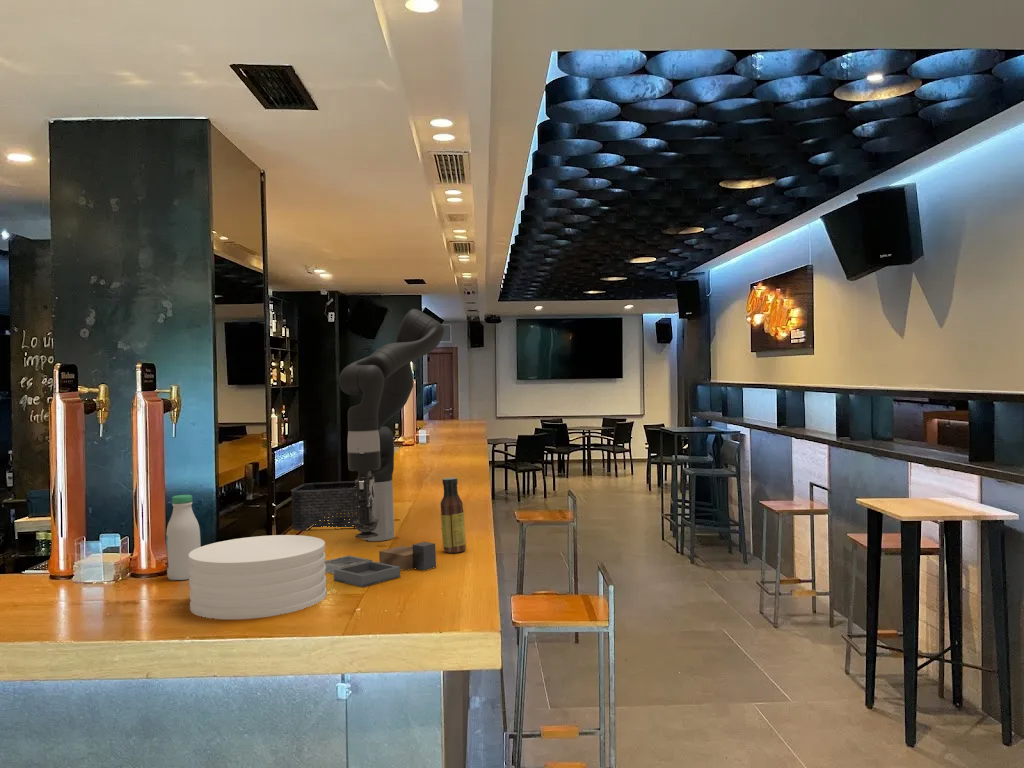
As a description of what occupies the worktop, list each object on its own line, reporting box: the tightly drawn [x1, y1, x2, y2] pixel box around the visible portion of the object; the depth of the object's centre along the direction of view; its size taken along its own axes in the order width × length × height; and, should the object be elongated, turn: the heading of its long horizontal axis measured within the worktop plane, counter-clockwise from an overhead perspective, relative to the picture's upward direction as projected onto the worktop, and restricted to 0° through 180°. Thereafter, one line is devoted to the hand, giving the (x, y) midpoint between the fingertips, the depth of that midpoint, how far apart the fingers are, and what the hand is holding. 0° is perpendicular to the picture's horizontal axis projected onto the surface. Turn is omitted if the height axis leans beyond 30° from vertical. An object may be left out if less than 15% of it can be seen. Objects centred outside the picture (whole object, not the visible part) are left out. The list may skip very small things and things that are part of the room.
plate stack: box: [188, 534, 328, 620], centre depth 170 cm, size 28×28×12 cm
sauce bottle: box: [440, 477, 467, 554], centre depth 213 cm, size 6×6×20 cm
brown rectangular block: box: [378, 545, 413, 571], centre depth 199 cm, size 10×8×4 cm
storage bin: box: [290, 480, 359, 532], centre depth 261 cm, size 29×19×13 cm
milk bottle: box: [165, 494, 202, 581], centre depth 193 cm, size 8×8×20 cm
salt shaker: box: [354, 497, 379, 539], centre depth 185 cm, size 6×6×12 cm
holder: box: [324, 554, 373, 575], centre depth 196 cm, size 10×10×2 cm
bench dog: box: [411, 541, 437, 571], centre depth 194 cm, size 4×4×6 cm
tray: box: [333, 560, 401, 588], centre depth 185 cm, size 11×11×2 cm
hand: (366, 520), depth 185 cm, fingers closed on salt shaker, 6 cm apart
